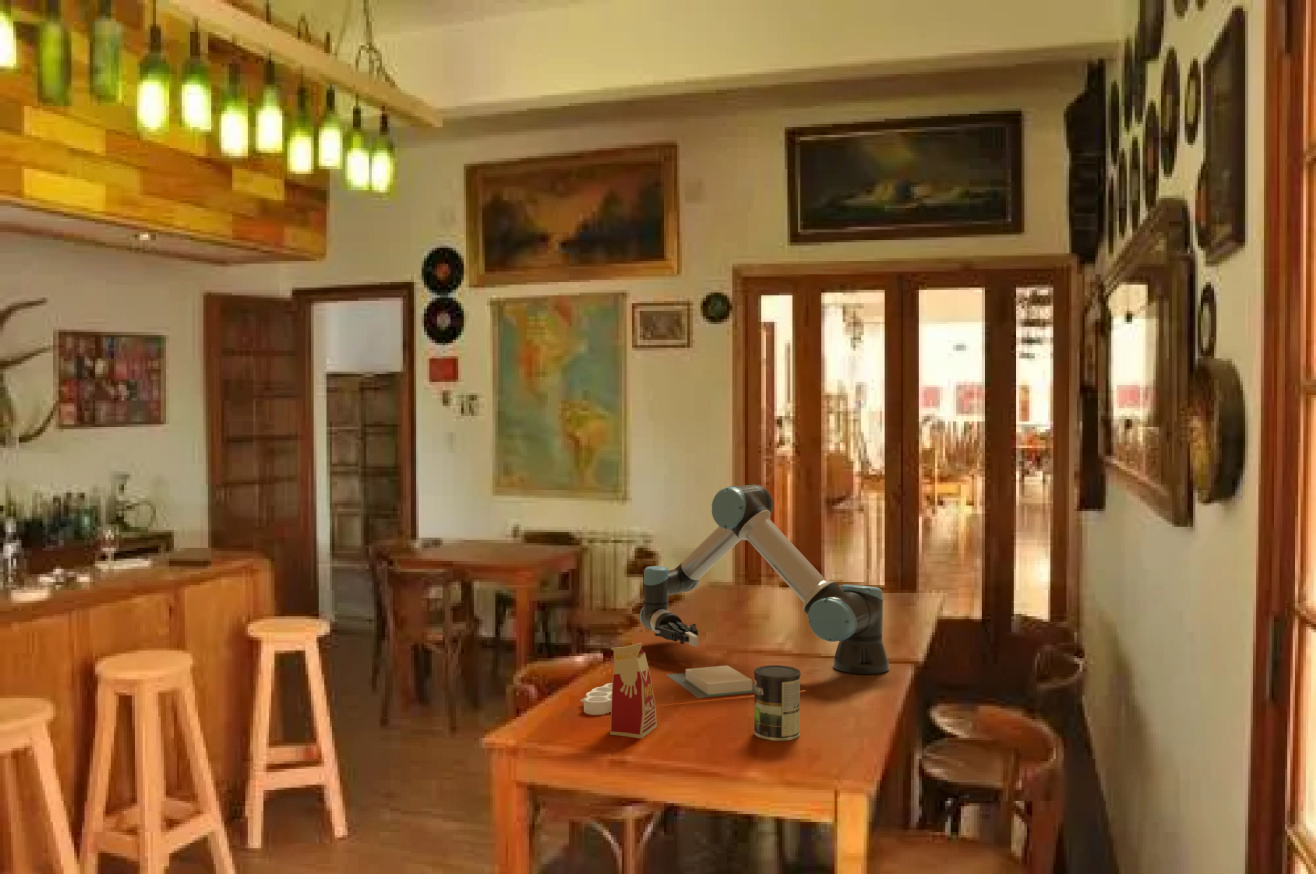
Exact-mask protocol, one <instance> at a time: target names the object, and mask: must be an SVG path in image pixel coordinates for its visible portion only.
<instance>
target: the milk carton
mask: <svg viewBox="0 0 1316 874" xmlns="http://www.w3.org/2000/svg"><path fill="white" fill-rule="evenodd" d="M642 645H643V642H639V643H636V644H632V645H628V646H620V647H619V646H618V647H611V648H610V650H612V651H613V672H612V682H611V683H612V700H611V713H610V727H609V728H610V730H609V731H610V733H609V734H610V735H611V736H622V737H629V738H636V739H643V738H644V737H645V736H647V735H648V734H650V733H651V732H652V731H654V730H655V729H656V728H657V727H658V725H657V724H658V721H657V711H656V710H657V709H656V701H655V695H654V694H655V693H654V689H653V681H652V677H651V672H650V667H649V663H648V661H647V660H648V659H647V656H646V655H647V654H646V652H645V651H644V650H643V648H642ZM654 728H655V729H654ZM653 729H654V730H653Z"/></svg>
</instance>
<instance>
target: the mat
mask: <svg viewBox="0 0 1316 874" xmlns="http://www.w3.org/2000/svg"><path fill="white" fill-rule="evenodd" d="M666 677H668V678H670V679H671V680H672V681H674V682H675V683H676V684H678V685H679V686H681V687H682V688H683V689H685V690H686V691H688V692H689V693H690V694H692V695H693V696H694V697H696V698H697V699H704V698H705V699H706V698H713V697H714V698H715V697H723V696H732V695H733V696H734V695H743V694H752V693H753V694H754V685H755V684H754V683H752V692H746V693H735V694H725V695H715V696H707V695H706V694H704V693H703V692H702V691H700V690H699V689H697V688H696V687H694V686H693V685H692V684H690V683H689V682H687V681H686V672H681V673H680V672H678V673H669V674H666Z"/></svg>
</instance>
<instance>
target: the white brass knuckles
mask: <svg viewBox="0 0 1316 874" xmlns="http://www.w3.org/2000/svg"><path fill="white" fill-rule="evenodd" d="M611 700H612V682H610V683H605V684H604V685H602V686H598V687H597V686H596V687H594V688H592V689H591V690H590V691H589V692H588V691H587V692H586V694H585V696H584V698H582V699H579V701H580V702H581V703H583V712H584V713H585V714H587V715H591V716H600V715H601V716H602V715H606V713H607V714H610V713H609V712H611Z"/></svg>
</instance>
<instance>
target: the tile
mask: <svg viewBox="0 0 1316 874" xmlns="http://www.w3.org/2000/svg"><path fill="white" fill-rule="evenodd" d="M685 673H686V681H687V682H689V683H690V684H692V685H693V686H694V687H696V688H697V689H699V690H700V691H702V692H703V693H704V694H706V695H707V696H715V695H725V694H735V693H745V694H747V693H746V692H752V684H753V679H751V678H749V677H748V676H746V675H744V674H743V673H741V672H739V671H738V670H736V669H734V668H733V667H731V666H729V665H719V666H718V665H716V666H705V667H704V666H703V667H695V668H686V669H685ZM735 695H736V694H735ZM725 696H726V695H725ZM715 697H716V696H715Z"/></svg>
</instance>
